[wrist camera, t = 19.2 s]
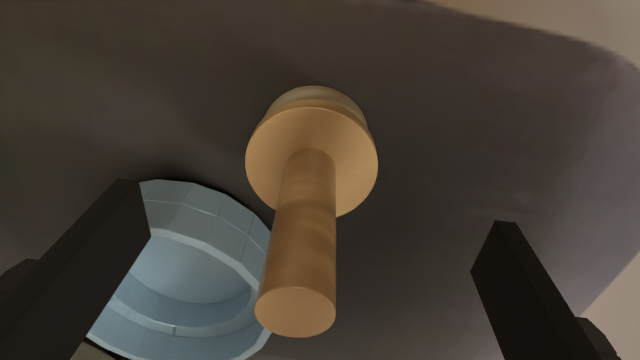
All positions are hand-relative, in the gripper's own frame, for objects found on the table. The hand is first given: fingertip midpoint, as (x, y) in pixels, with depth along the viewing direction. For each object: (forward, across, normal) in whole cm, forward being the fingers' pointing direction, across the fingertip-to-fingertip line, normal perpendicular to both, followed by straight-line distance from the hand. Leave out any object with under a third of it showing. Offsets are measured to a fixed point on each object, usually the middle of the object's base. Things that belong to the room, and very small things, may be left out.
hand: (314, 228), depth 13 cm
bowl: (+8, -8, -10) cm, 15 cm away
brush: (+8, 0, 0) cm, 8 cm away
